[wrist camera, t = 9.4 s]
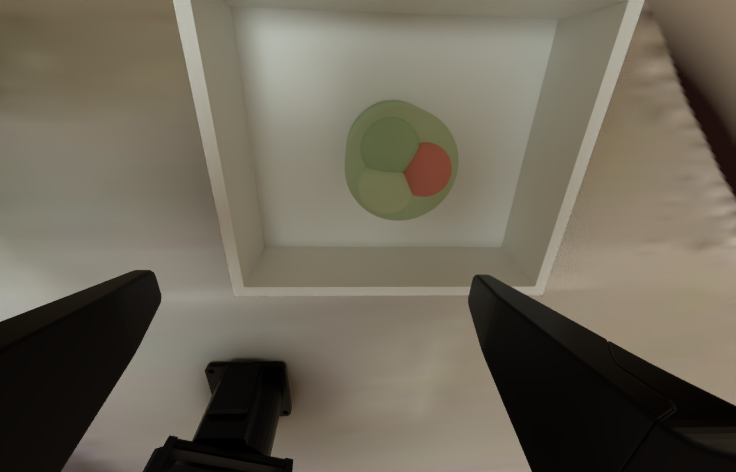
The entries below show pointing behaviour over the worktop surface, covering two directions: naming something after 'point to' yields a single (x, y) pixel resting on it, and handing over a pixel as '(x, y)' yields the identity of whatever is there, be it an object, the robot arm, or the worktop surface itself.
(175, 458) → the robot arm
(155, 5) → the worktop surface
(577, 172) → the serving bin
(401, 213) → the salad portion
